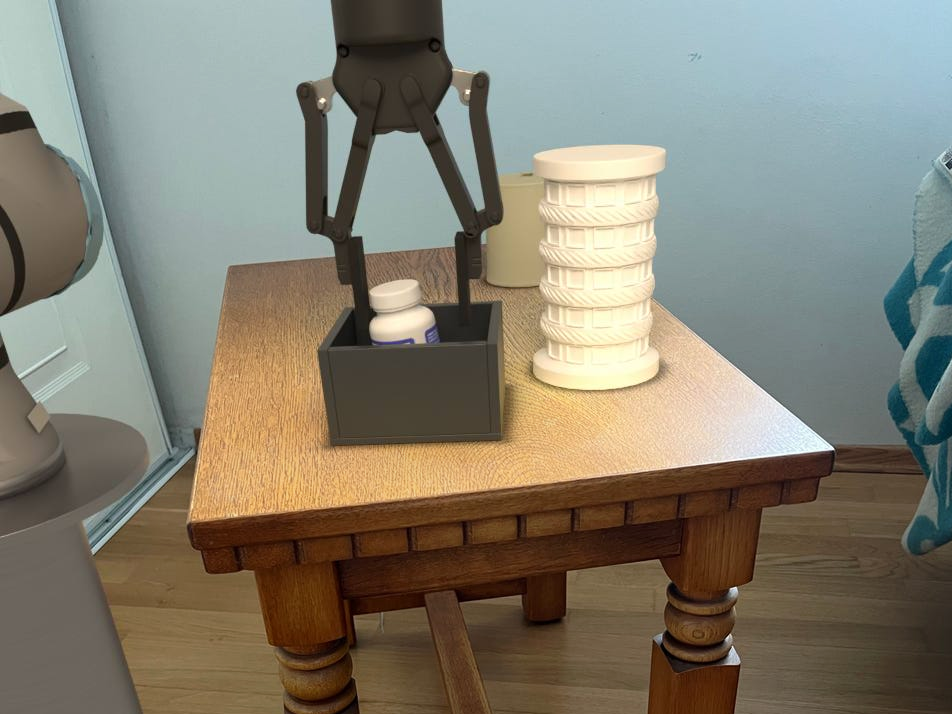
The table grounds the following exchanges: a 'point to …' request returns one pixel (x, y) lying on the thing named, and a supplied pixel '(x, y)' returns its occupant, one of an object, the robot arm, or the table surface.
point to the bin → (416, 381)
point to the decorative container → (598, 265)
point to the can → (517, 234)
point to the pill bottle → (401, 315)
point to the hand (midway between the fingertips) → (415, 323)
